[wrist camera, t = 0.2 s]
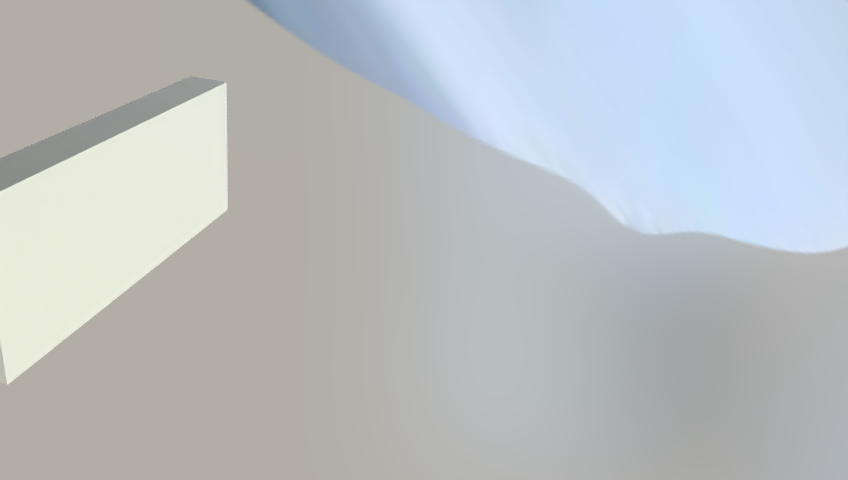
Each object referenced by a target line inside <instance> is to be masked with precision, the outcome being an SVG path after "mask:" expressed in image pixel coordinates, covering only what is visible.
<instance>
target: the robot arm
mask: <svg viewBox="0 0 848 480" xmlns="http://www.w3.org/2000/svg"><path fill="white" fill-rule="evenodd" d="M226 94H227V91H226V82H221V81H216V80H210V79H204V78H198V77H189V78H186V79H184V80H182V81H179V82H177V83H174V84H172V85H170V86H167V87H165V88H163V89H160V90H158V91H156V92H154V93H151V94H149V95H147V96H144V97H142V98H140V99H137V100H135V101H133V102H130V103H128V104H126V105H123V106H121V107H119V108H116V109H114V110H112V111H109V112H107V113H105V114H102V115H100V116H98V117H95V118H93V119H91V120H89V121H86V122H84V123H82V124H79V125H77V126H75V127H72V128H70V129H68V130H65V131H63V132H61V133H58V134H56V135H54V136H51V137H49V138H47V139H44V140H42V141H40V142H38V143H35V144H33V145H31V146H28V147H26V148H24V149H21V150H19V151H17V152H14V153H12V154H10V155H7V156H5V157H3V158H0V383H2V384H6V385H8V384H9V383H10V382H12V381H13V380H14V379H15V378H17V377H18V376H19V375H20V374H22V373H23V372H24V371H25V370H27V369H28V368H29V367H30V366H32V365H33V364H34V363H35V362H36V361H38V360H39V359H40V358H42V357H43V356H44V355H45V354H47V353H48V352H49V351H50V350H52V349H53V348H54V347H55V346H57V345H58V344H59V343H60V342H62V341H63V340H64V339H66V338H67V337H68V336H69V335H70V334H72V333H73V332H74V331H76V330H77V329H78V328H79V327H80V326H82V325H83V324H84V323H86V322H87V321H88V320H89V319H90V318H92V317H93V316H94V315H96V314H97V313H98V312H99V311H101V310H102V309H103V308H105V307H106V306H107V305H108V304H110V303H111V302H112V301H113V300H115V299H116V298H117V297H118V296H119V295H121V294H122V293H123V292H125V291H126V290H127V289H128V288H130V287H131V286H132V285H133V284H135V283H136V282H137V281H138V280H140V279H141V278H142V277H143V276H145V275H146V274H147V273H148V272H150V271H151V270H152V269H153V268H155V267H156V266H157V265H159V264H160V263H161V262H162V261H164V260H165V259H166V258H167V257H169V256H170V255H171V254H172V253H174V252H175V251H176V250H177V249H178V248H180V247H181V246H182V245H183V244H185V243H186V242H187V241H189V240H190V239H191V238H192V237H194V236H195V235H196V234H197V233H199V232H200V231H201V230H203V229H204V228H205V227H206V226H207V225H209V224H210V223H211V222H213V221H214V220H215V219H216V218H218V217H219V216H220V215H221V214H222V213H224V212H225V211H226V210H227V209H228V205H227V99H226V98H227V95H226Z"/></svg>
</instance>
